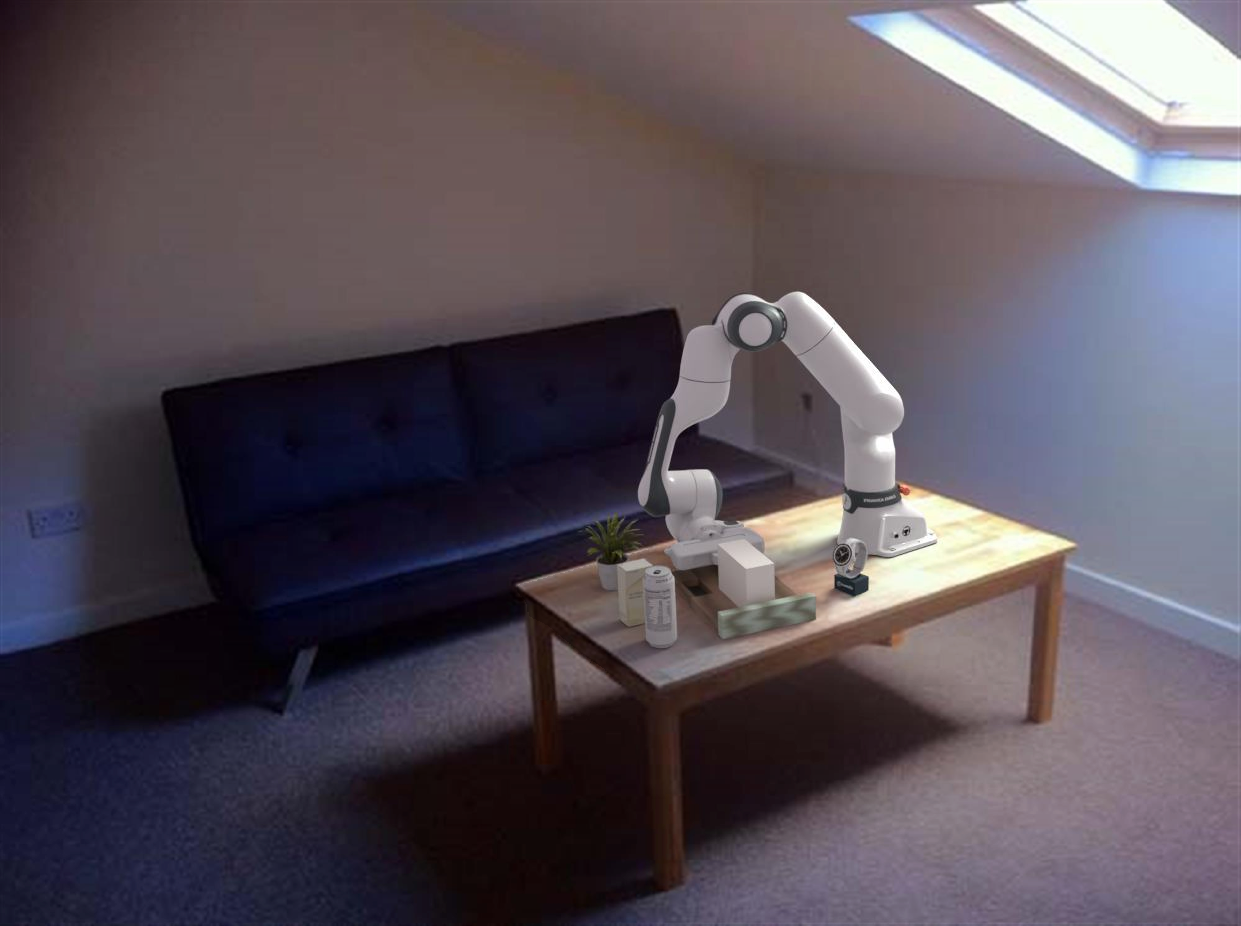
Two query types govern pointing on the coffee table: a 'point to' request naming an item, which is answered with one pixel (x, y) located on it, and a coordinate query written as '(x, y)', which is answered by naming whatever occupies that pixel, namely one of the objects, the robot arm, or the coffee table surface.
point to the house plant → (611, 550)
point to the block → (745, 573)
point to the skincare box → (632, 591)
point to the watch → (847, 578)
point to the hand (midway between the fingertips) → (731, 563)
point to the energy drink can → (660, 606)
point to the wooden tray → (737, 621)
